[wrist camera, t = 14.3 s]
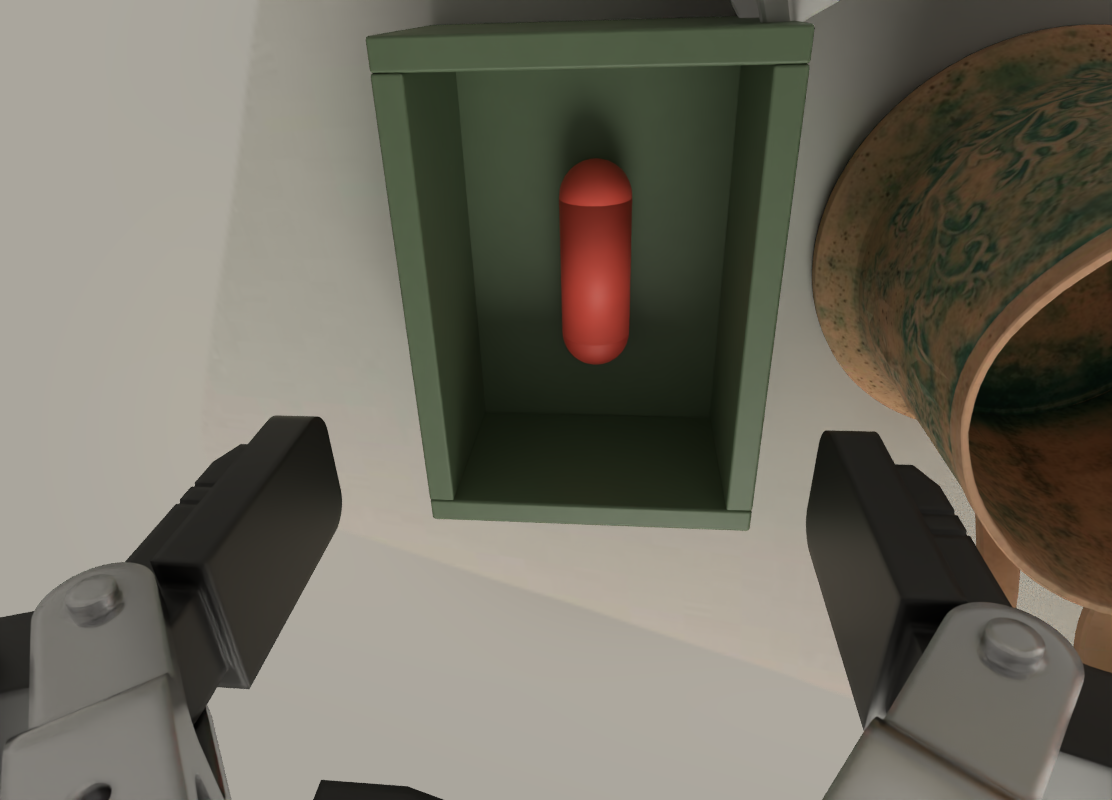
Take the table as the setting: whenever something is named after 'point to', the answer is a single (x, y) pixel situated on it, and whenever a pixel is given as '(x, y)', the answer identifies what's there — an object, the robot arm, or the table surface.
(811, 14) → the tube
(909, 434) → the table surface
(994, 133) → the mug
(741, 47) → the bin
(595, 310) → the capsule
